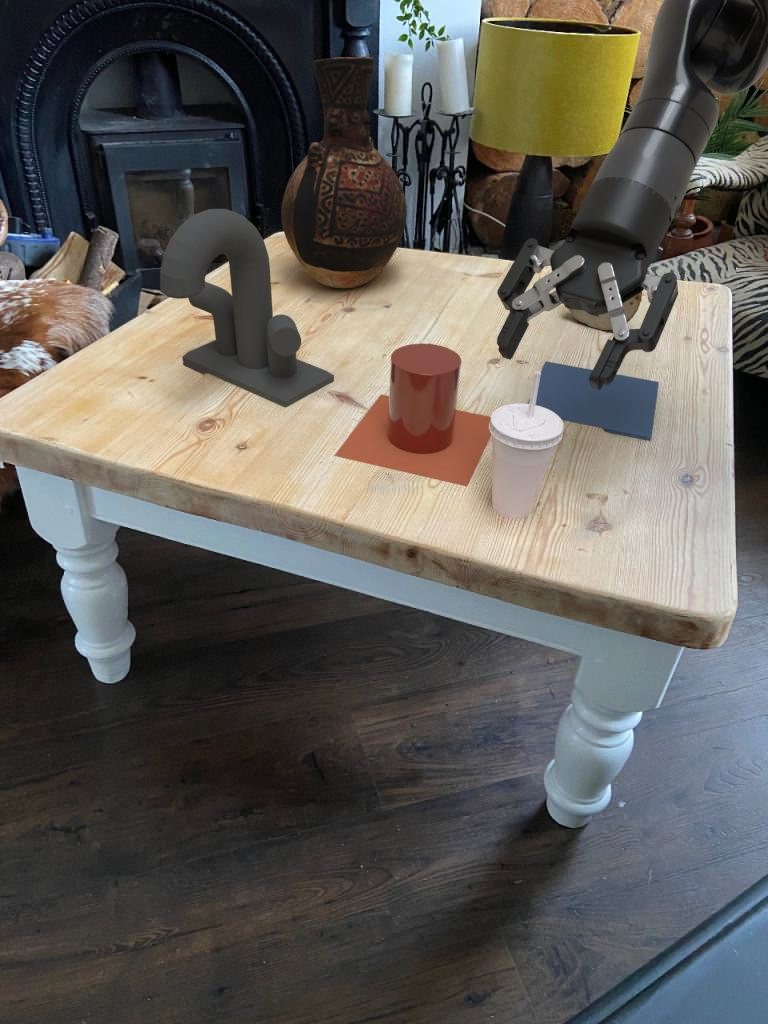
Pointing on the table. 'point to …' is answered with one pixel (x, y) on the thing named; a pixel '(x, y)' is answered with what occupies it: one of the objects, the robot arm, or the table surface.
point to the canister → (423, 397)
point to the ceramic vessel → (344, 186)
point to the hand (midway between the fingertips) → (547, 370)
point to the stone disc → (604, 319)
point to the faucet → (238, 309)
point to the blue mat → (599, 400)
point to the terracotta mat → (444, 465)
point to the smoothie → (521, 453)
